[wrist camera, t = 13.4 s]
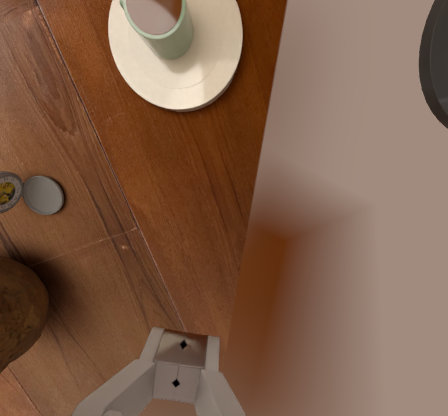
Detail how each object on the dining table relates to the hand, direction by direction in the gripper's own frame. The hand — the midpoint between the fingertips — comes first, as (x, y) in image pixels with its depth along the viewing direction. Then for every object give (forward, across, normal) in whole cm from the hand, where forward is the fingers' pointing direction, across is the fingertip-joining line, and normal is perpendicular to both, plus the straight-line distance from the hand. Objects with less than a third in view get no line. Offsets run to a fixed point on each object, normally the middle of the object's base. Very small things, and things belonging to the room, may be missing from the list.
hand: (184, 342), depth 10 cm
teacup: (+27, +10, -22) cm, 36 cm away
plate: (+29, +9, -22) cm, 37 cm away
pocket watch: (+29, +30, +4) cm, 42 cm away
